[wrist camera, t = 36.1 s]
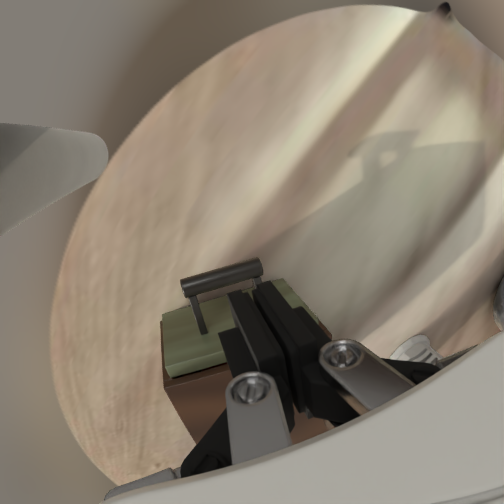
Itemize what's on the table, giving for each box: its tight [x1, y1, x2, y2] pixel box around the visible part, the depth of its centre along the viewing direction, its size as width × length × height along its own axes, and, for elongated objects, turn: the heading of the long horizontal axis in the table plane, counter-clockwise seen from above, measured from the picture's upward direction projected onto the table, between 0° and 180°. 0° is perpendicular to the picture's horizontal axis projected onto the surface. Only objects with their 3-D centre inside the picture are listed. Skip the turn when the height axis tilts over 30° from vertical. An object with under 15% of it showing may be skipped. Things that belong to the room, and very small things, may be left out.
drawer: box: [162, 257, 319, 378], centre depth 27 cm, size 18×12×8 cm, turn 11°
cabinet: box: [160, 319, 332, 445], centre depth 29 cm, size 15×13×10 cm
